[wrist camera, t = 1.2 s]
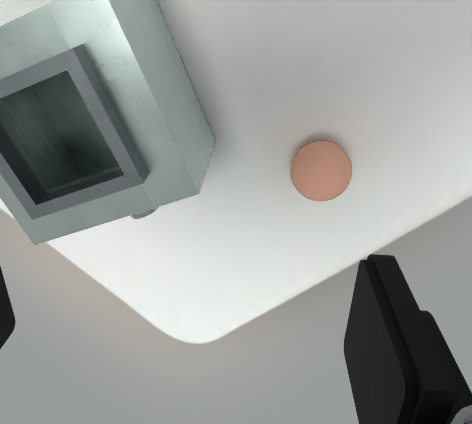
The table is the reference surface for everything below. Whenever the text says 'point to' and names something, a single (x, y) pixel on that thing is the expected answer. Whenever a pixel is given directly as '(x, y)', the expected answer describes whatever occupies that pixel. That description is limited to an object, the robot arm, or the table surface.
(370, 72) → the table surface
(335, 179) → the peach sphere
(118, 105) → the box
